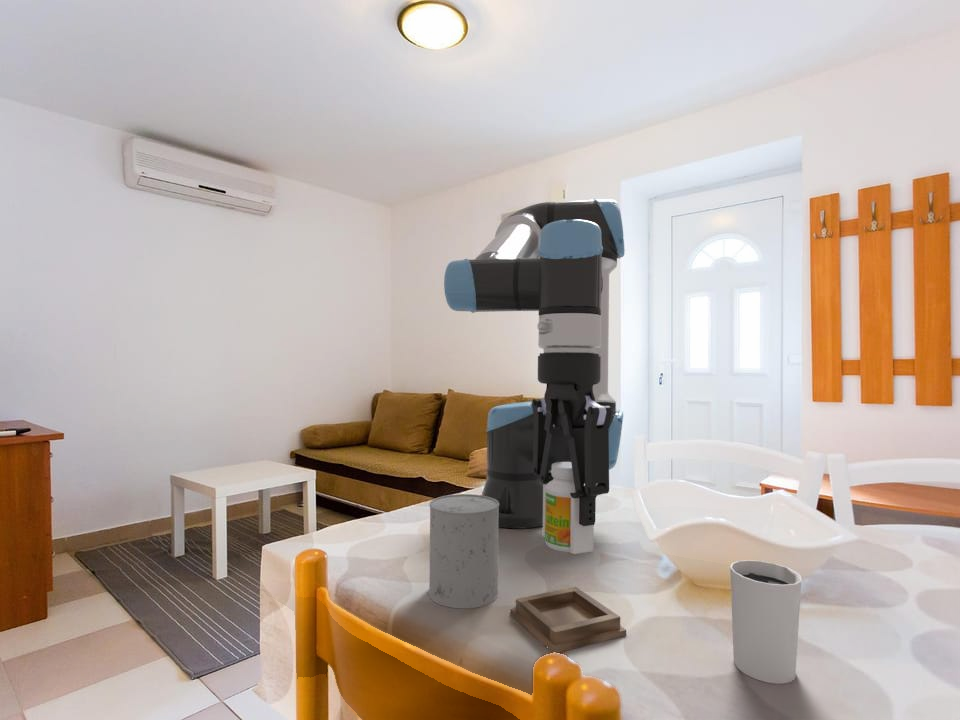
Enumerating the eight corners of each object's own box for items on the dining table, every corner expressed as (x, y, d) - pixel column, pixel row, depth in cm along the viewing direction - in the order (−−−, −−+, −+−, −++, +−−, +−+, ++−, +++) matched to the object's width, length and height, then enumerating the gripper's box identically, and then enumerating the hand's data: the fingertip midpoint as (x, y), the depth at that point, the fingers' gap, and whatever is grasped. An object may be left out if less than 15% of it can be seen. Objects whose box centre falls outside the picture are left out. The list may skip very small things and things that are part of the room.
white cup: (731, 677, 54) (732, 579, 54) (726, 645, 60) (727, 556, 60) (807, 693, 52) (808, 589, 52) (794, 657, 58) (795, 565, 58)
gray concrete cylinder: (419, 584, 76) (420, 497, 76) (481, 574, 80) (482, 491, 80) (442, 614, 67) (443, 516, 67) (510, 601, 71) (511, 508, 71)
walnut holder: (576, 599, 71) (576, 584, 71) (626, 635, 62) (626, 617, 62) (510, 613, 67) (510, 597, 67) (553, 653, 58) (553, 635, 58)
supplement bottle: (536, 545, 65) (536, 464, 65) (561, 534, 68) (561, 458, 69) (574, 556, 61) (575, 471, 61) (598, 544, 65) (599, 464, 65)
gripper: (506, 351, 72) (504, 525, 71) (589, 349, 55) (586, 576, 55) (554, 352, 75) (552, 519, 75) (646, 350, 58) (644, 565, 58)
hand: (566, 542), depth 65 cm, fingers closed on supplement bottle, 5 cm apart
